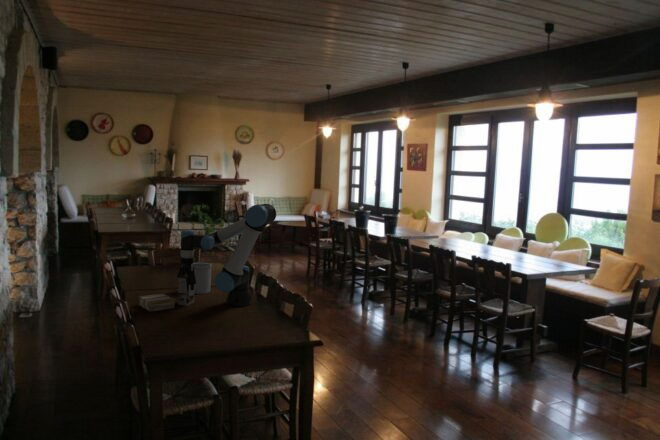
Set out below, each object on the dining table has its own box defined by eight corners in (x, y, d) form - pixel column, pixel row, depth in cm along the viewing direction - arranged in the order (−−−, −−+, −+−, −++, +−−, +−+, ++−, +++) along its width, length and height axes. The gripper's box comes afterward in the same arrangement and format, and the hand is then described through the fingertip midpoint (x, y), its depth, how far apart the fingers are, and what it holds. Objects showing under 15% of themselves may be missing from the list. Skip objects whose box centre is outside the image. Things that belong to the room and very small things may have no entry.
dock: (174, 308, 305) (174, 299, 304) (150, 311, 296) (150, 302, 295) (162, 302, 317) (163, 293, 317) (139, 305, 308) (139, 296, 308)
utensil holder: (213, 293, 343) (213, 266, 341) (188, 294, 337) (189, 267, 336) (209, 288, 356) (209, 262, 355) (186, 289, 351) (186, 262, 349)
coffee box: (187, 306, 311) (188, 278, 309) (177, 305, 312) (177, 277, 310) (194, 302, 320) (195, 275, 318) (184, 301, 321) (185, 274, 319)
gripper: (172, 253, 320) (171, 289, 322) (190, 261, 301) (189, 298, 303) (183, 253, 325) (182, 287, 327) (202, 260, 306) (201, 296, 308)
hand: (186, 293), depth 315 cm, fingers open, 13 cm apart
